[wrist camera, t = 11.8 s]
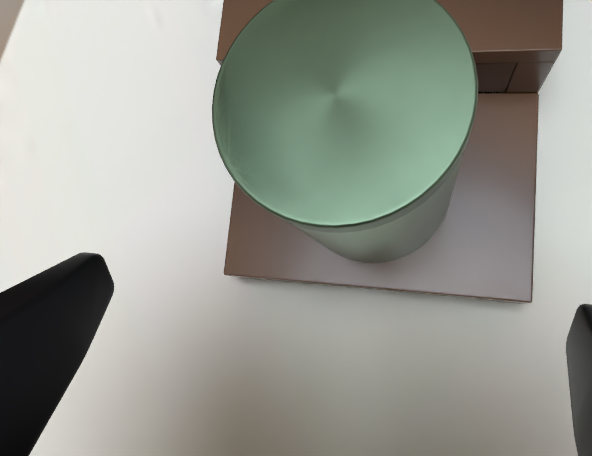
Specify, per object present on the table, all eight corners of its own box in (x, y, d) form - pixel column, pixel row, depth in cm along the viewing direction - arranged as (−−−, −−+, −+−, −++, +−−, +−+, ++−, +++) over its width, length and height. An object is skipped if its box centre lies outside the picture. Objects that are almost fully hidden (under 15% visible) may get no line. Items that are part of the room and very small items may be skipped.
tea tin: (431, 281, 19) (441, 258, 10) (282, 243, 20) (180, 195, 12) (468, 129, 19) (507, -16, 11) (320, 105, 21) (249, -39, 12)
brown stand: (522, 303, 19) (555, 301, 15) (238, 277, 22) (188, 268, 18) (535, -64, 22) (567, -169, 17) (274, -42, 25) (239, -126, 20)
